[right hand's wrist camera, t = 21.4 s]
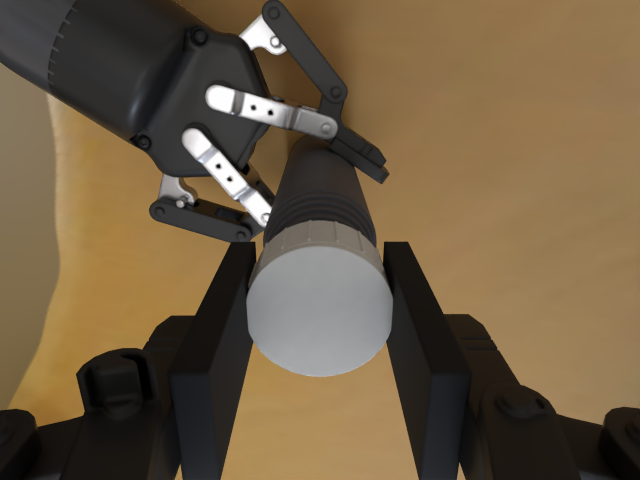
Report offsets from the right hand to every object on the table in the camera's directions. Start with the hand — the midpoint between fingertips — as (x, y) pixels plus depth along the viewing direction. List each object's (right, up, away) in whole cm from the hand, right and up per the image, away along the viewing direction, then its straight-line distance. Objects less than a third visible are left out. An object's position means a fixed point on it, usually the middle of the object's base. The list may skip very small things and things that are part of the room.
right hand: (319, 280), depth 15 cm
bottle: (0, +7, +17) cm, 19 cm away
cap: (0, -1, -2) cm, 2 cm away
